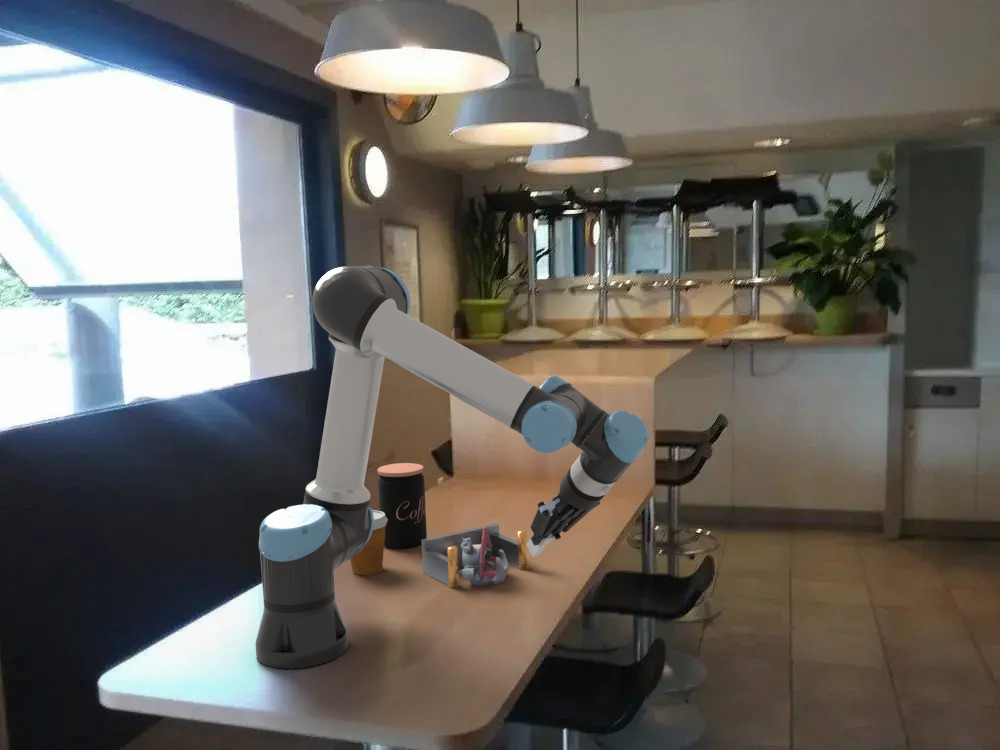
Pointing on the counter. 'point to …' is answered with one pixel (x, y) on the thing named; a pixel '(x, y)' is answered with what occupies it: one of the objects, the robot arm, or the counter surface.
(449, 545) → the bracket
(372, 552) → the disposable coffee cup
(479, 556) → the brake caliper
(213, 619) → the counter surface
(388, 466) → the coffee jar
